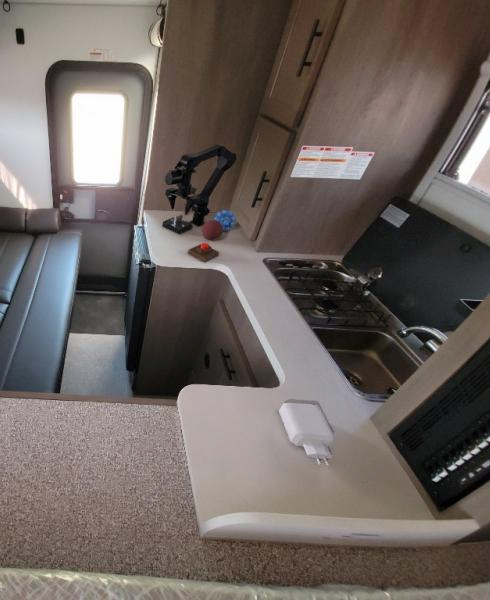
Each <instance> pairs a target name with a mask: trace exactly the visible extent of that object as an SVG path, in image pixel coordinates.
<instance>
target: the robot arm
mask: <svg viewBox="0 0 490 600" xmlns="http://www.w3.org/2000/svg"><path fill="white" fill-rule="evenodd" d="M215 157H217V160H216V167H215V169H214V170H213V172H212V174H210V177H209V179H208V180H207V182H206V183H205V185H204V186H203V189H201V191H200V193H198V194H196V192H197V188H196V187H193V186H192V183H191V181H192V177H193V174H195V173H197V170H196V167H198V166H199V165H200V164H201V163H202V162H205V161H207V160H210V159H213V158H215ZM236 161H237V154H236V153H235V152H232V151H230V150H229V149H227V147H225V146H224V145H222V144H219V143H218V144H214V145H212V146H211V147H208V148H206V149H203V150H200V151H198V152H194V153H192V152H190V153H184V154H183V155H181V158H180V159H179V160H178V162H177V163H176V165H175V166H174V168H173V169H169V170H168V172H167V173H166V174H165V176H164V181H165V184H166V186H173V185H176V186H175V187H177V188H175V187H170V188H166V189H165V191H164V195H165V196H166V198H167V200H168V202H169V205H170V208H171V210H174V209H175V206H176V199H177V197H178V198H180V199H183V200H186V201H185V202H186V203H185V204H184V205H185V206H184V216H188V214H189V212H190V210H191V211H192V212H194V213H193V215H192V219H191V220H190V221H189V223H191V224H192V225H195V226H196V227H200V226H203V225H204V224H205V223H206V222H207V221H205V217H207V216H208V215H209V214H210V212H211V210H210V209H209V208H208V205H209V203H210V202H209V201H210V196H211V195H212V193H213V192H214V191H215V188H216V187H217V185H218V184H219V182H220V181H221V179H222V177H223V176H224V174H225V173H226V171H228V170H230V169H231V168H232V167H233V166H234V164H235V163H236Z"/></svg>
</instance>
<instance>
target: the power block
mask: <svg viewBox="0 0 490 600" xmlns="http://www.w3.org/2000/svg"><path fill="white" fill-rule="evenodd" d="M201 244H202V243H200V244H198V245H196V246H193V247H192V248H189V249H188V251H187V254H188V255H189V256H192V257H193V258H195V259H197V260H198V261H201V262H203V263H207V262H209V261H210V260H212V259H215V258H217V257H218V256H219V253H220V251H218V250H216V249H214V248H212V246H211V245H209V248H208V249H207V250H204V249H201V248H200V247H201Z"/></svg>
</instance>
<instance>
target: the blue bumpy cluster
mask: <svg viewBox="0 0 490 600" xmlns="http://www.w3.org/2000/svg"><path fill="white" fill-rule="evenodd" d="M213 220H216V221H218V222H220V223H221V225H222V227H223V231H222V232H224V231H227V232H228V231H229V232H230V230H231V228H233V227H235V226H236V221H237V217H236V216H235V215H234V212H233V211H231V210H229V211H228V210H227V209H222V211H218V212H216V216H215V217H214V218H213Z"/></svg>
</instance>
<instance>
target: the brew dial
mask: <svg viewBox="0 0 490 600" xmlns="http://www.w3.org/2000/svg"><path fill="white" fill-rule="evenodd" d="M173 217H174V224H177V223H180V222H182V220H183V217H184V216H183V214H182V213H181V214H180V213H179V214H177V215H174V216H173Z"/></svg>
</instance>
